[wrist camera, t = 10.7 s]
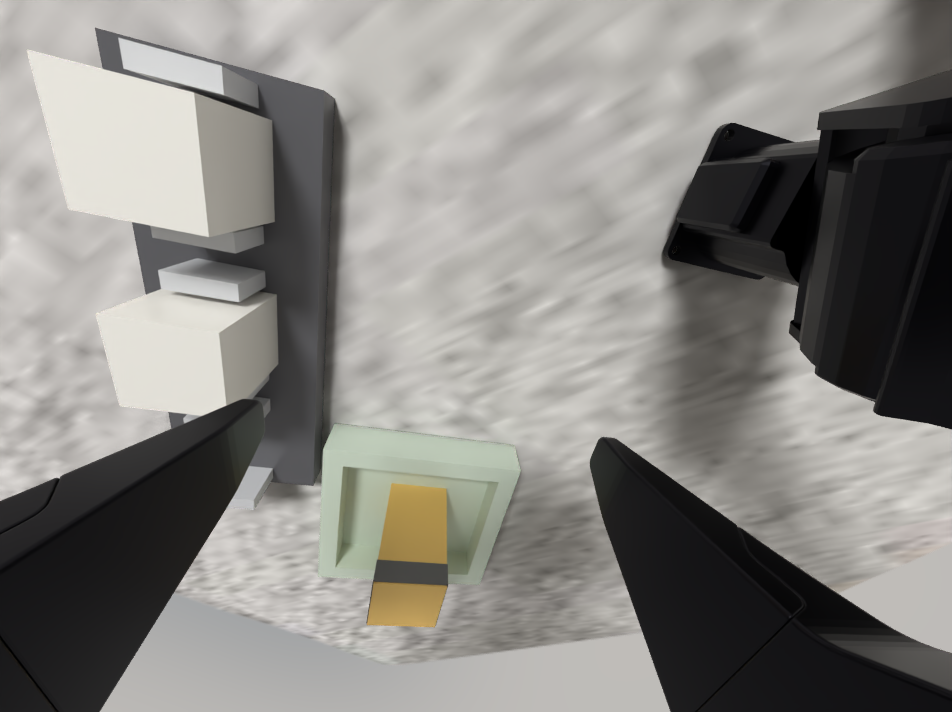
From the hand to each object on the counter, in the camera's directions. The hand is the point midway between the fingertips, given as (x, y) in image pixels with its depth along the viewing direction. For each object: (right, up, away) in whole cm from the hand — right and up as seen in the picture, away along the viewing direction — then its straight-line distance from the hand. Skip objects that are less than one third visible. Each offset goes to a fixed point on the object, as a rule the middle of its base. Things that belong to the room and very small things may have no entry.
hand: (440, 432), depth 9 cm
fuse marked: (-4, -9, +17) cm, 19 cm away
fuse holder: (-12, +4, +10) cm, 16 cm away
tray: (-4, -9, +17) cm, 20 cm away
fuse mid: (-11, +4, +9) cm, 15 cm away
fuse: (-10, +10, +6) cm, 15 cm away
